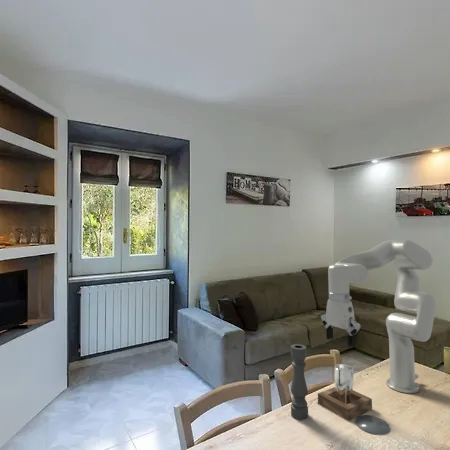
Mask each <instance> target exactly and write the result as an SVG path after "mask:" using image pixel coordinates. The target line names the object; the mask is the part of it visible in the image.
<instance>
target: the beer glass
mask: <svg viewBox="0 0 450 450" xmlns="http://www.w3.org/2000/svg"><path fill="white" fill-rule="evenodd" d="M333 375H334V385H335V386H334V387H336V391H337V400H339V401H341V402H343V403H345V404H349V403H351V402H352V391H353V390H354V385H355V384H354V381H355V380H354V379H355V378H354V367H352V366H350V365H349V364H345V363H344V364H343V363H338V364H335V365H334V374H333Z"/></svg>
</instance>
